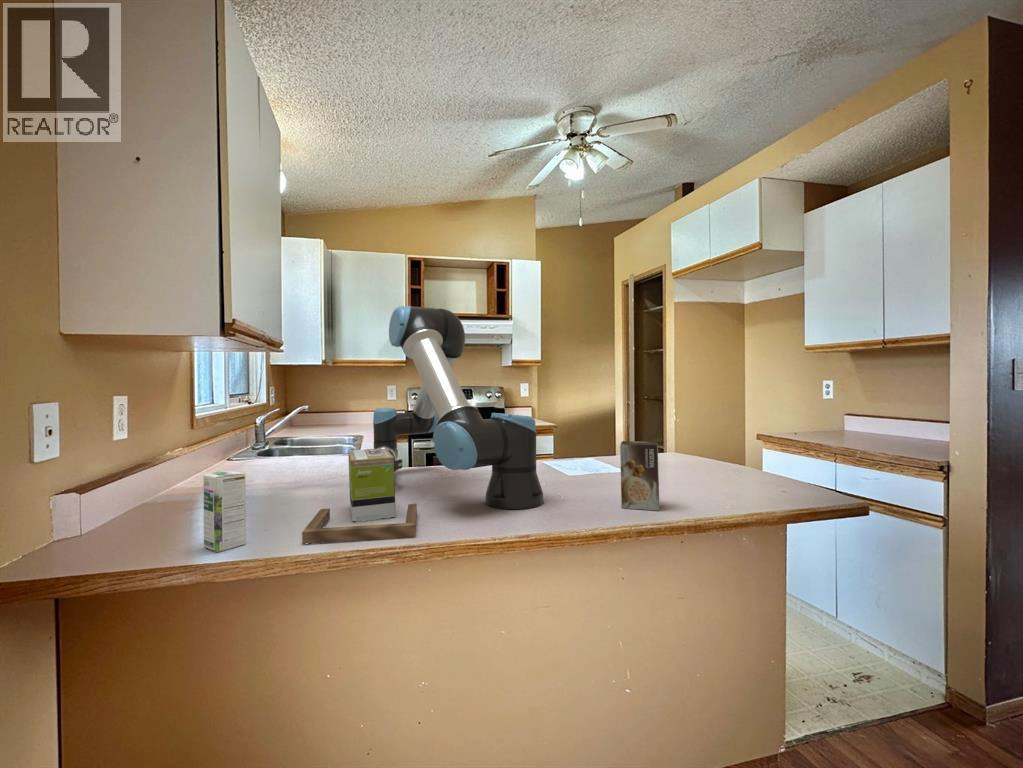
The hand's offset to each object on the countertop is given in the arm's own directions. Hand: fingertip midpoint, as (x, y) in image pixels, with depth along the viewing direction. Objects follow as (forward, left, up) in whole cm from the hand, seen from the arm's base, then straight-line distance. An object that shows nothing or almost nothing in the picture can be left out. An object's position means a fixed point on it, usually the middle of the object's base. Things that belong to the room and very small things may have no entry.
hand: (375, 475), depth 131 cm
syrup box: (+26, +30, -7) cm, 40 cm away
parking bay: (0, +23, -7) cm, 24 cm away
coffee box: (-66, +20, -7) cm, 69 cm away
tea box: (0, +11, -7) cm, 13 cm away
